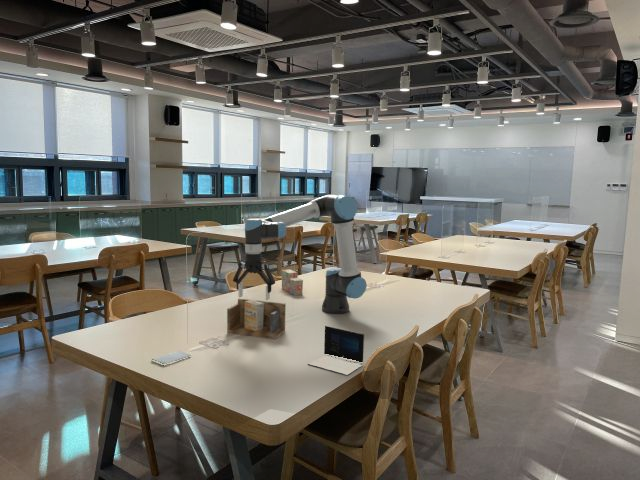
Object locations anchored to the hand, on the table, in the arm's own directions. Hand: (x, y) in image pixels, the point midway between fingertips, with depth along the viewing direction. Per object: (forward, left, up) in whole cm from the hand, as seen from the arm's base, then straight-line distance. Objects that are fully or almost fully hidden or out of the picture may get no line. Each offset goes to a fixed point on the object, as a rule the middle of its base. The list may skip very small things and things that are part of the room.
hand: (254, 298), depth 219 cm
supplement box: (0, 0, -15) cm, 15 cm away
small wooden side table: (-1, -1, -16) cm, 16 cm away
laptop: (-46, +25, -17) cm, 55 cm away
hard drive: (+16, +41, -17) cm, 48 cm away
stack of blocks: (+12, -84, -17) cm, 86 cm away
